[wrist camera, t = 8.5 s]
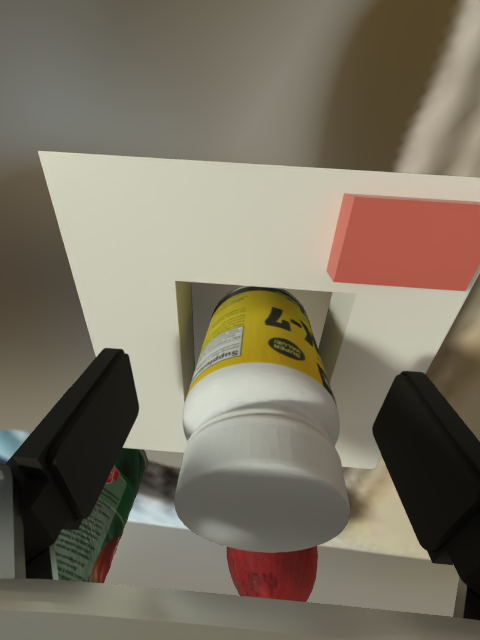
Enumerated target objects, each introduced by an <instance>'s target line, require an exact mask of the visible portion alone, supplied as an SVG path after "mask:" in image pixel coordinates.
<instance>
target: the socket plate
mask: <svg viewBox="0 0 480 640" xmlns="http://www.w3.org/2000/svg"><path fill="white" fill-rule="evenodd" d="M38 153H39V157H40V160H41V164H42V168H43V171H44V175H45V178H46V182H47V185H48V189H49V192H50V196H51V199H52V203H53V206H54V210H55V213H56V217H57V220H58V224H59V228H60V231H61V234H62V238H63V242H64V245H65V249H66V252H67V256H68V260H69V263H70V266H71V270H72V274H73V277H74V281H75V284H76V287H77V291H78V295H79V298H80V302H81V305H82V309H83V313H84V316H85V320H86V323H87V327H88V330H89V334H90V337H91V341H92V344H93V348H94V351H95V355H96V357H97V356H98V354H99V353H100V352H101V351H102V350H103V349H104V348H115V349H123V350H124V353H126V354H128V355H129V358H130V363H131V368H132V373H133V378H134V383H135V388H136V393H137V398H138V403H139V413H138V416H137V418H136V421H135V423H134V425H133V427H132V429H131V431H130V433H129V435H128V437H127V439H126V442H125V444H124V446H123V448H132V449H144V450H156V451H167V452H179V453H184V451H185V448H186V446H187V442H188V441H187V439H186V437H185V434H184V429H183V409H184V403H185V400H186V397H187V394H188V391H189V387H190V384H191V381H192V378H193V375H194V372H195V357H194V336H193V335H194V334H193V312H192V289H191V282H201V283H214V284H228V285H242V286H256V287H271V288H285V289H299V290H314V291H327V292H328V291H329V292H333V293H332V297H331V301H330V305H329V309H328V313H327V317H326V321H325V325H324V329H323V333H322V337H321V341H320V345H319V349H318V351H319V353H320V356H321V360H322V363H323V366H324V369H325V372H326V375H327V378H328V381H329V384H330V387H331V390H332V393H333V396H334V398H335V401H336V405H337V409H338V413H339V419H340V431H339V437H338V440H337V443H336V445H335V449H336V451H337V452H338V454H339V456H340V459H341V464H342V466H343V467H355V468H367V469H375V467H376V465H377V463H378V461H379V459H380V458H381V456H382V455H381V453H380V450H379V448H378V446H377V443H376V441H375V439H374V436H373V433H372V426H373V424H374V421H375V419H376V417H377V415H378V413H379V411H380V408H381V406H382V404H383V402H384V400H385V398H386V396H387V393H388V391H389V389H390V387H391V385H392V383H393V380H394V378H395V377H396V375H400V373H401V372H402V371H415V372H422V373H424V374H426V372H427V370H428V368H429V366H430V365H431V363H432V361H433V359H434V357H435V355H436V353H437V352H438V350H439V348H440V346H441V344H442V342H443V340H444V339H445V337H446V335H447V333H448V331H449V329H450V327H451V326H452V324H453V322H454V320H455V318H456V316H457V314H458V313H459V311H460V309H461V307H462V305H463V303H464V301H465V300H466V298H467V296H468V294H469V292H470V290H471V288H472V287H473V285H474V283H475V281H476V279H477V277H478V275H479V274H480V178H474V177H458V176H441V175H425V174H408V173H392V172H375V171H358V170H342V169H325V168H309V167H292V166H277V165H259V164H244V163H226V162H210V161H194V160H177V159H161V158H144V157H128V156H111V155H96V154H79V153H62V152H61V153H60V152H46V151H38Z"/></svg>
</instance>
